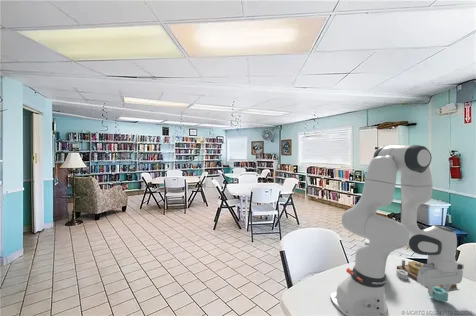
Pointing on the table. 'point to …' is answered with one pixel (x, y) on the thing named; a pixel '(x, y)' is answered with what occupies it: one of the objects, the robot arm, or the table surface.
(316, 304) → the table surface
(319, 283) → the table surface
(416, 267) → the gear board
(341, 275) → the table surface
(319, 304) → the table surface
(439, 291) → the teal gear
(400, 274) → the grey gear
